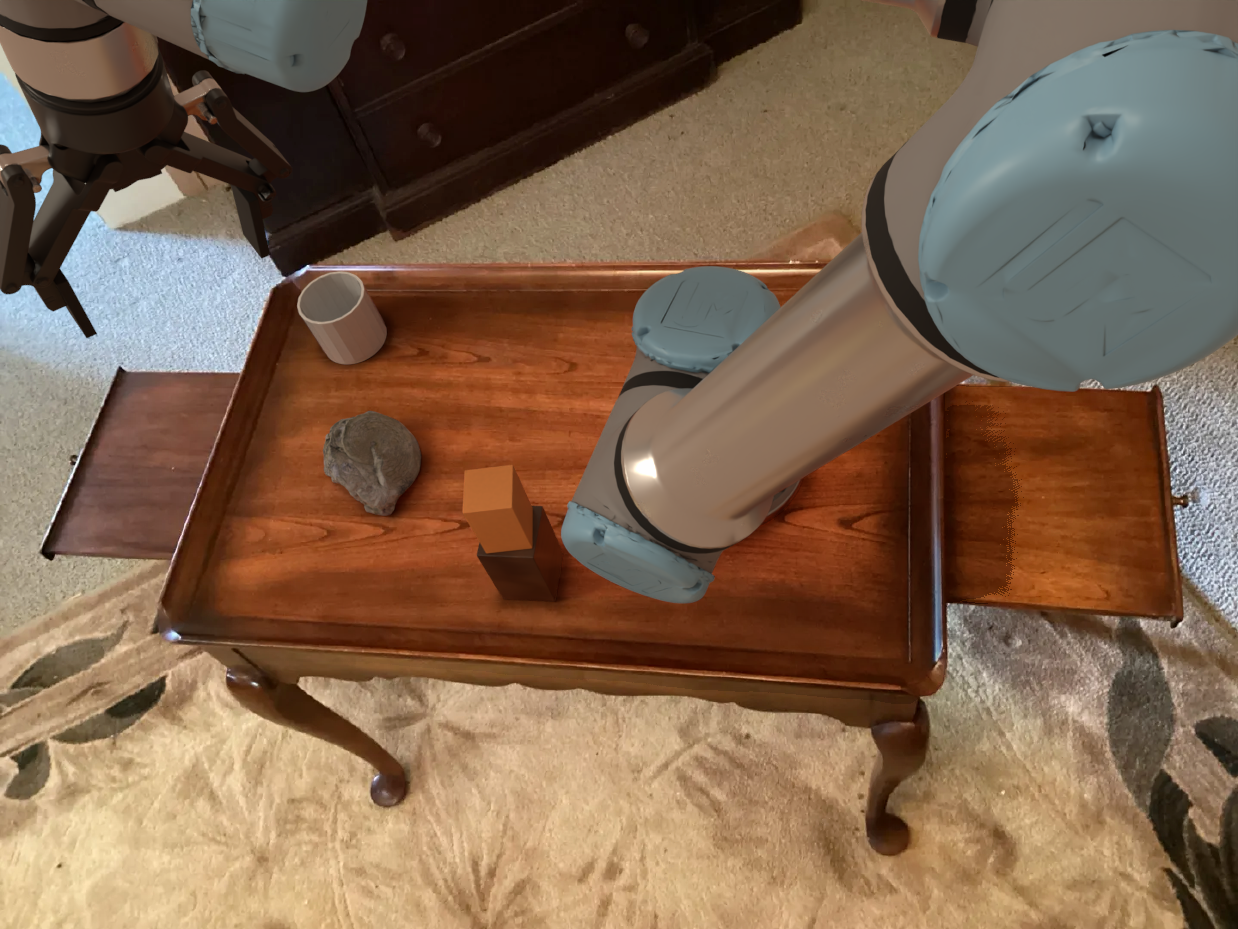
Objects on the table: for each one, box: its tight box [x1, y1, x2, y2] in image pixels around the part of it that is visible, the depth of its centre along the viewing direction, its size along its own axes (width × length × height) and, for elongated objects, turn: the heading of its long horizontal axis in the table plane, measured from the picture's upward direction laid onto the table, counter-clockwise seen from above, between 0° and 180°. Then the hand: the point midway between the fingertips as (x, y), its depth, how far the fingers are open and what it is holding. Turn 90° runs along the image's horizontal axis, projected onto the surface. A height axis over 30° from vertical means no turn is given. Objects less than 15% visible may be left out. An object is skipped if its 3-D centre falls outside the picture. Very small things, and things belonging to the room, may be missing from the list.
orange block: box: [462, 464, 533, 553], centre depth 79 cm, size 4×4×7 cm
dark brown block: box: [476, 505, 564, 603], centre depth 86 cm, size 5×5×9 cm
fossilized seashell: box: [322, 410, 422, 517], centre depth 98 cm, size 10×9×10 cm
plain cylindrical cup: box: [296, 270, 388, 365], centre depth 106 cm, size 7×7×7 cm
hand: (173, 282), depth 72 cm, fingers open, 13 cm apart
